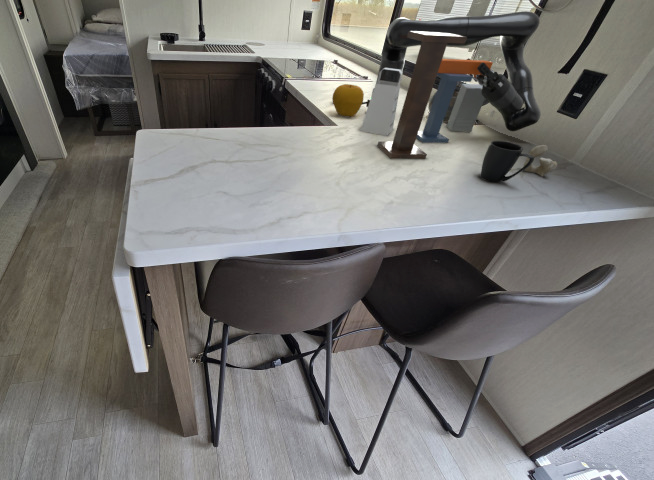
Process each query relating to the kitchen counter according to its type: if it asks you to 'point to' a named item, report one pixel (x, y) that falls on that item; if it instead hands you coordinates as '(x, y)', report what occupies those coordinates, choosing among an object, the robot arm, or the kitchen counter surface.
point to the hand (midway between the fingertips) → (472, 63)
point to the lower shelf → (441, 107)
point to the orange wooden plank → (461, 66)
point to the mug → (502, 161)
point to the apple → (347, 99)
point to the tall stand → (418, 93)
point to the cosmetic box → (466, 108)
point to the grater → (382, 107)
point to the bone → (545, 163)
